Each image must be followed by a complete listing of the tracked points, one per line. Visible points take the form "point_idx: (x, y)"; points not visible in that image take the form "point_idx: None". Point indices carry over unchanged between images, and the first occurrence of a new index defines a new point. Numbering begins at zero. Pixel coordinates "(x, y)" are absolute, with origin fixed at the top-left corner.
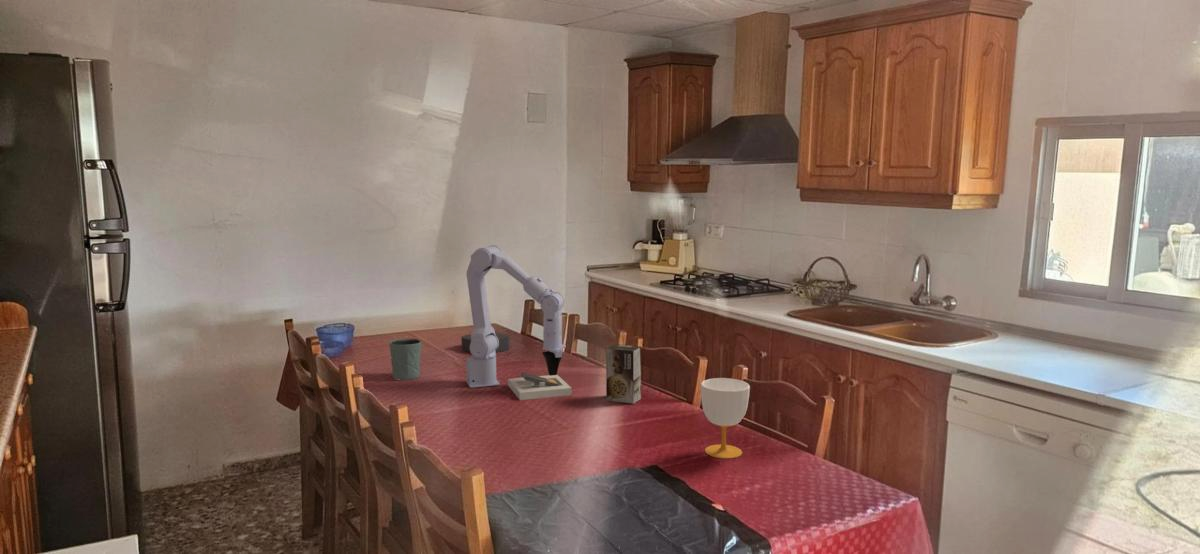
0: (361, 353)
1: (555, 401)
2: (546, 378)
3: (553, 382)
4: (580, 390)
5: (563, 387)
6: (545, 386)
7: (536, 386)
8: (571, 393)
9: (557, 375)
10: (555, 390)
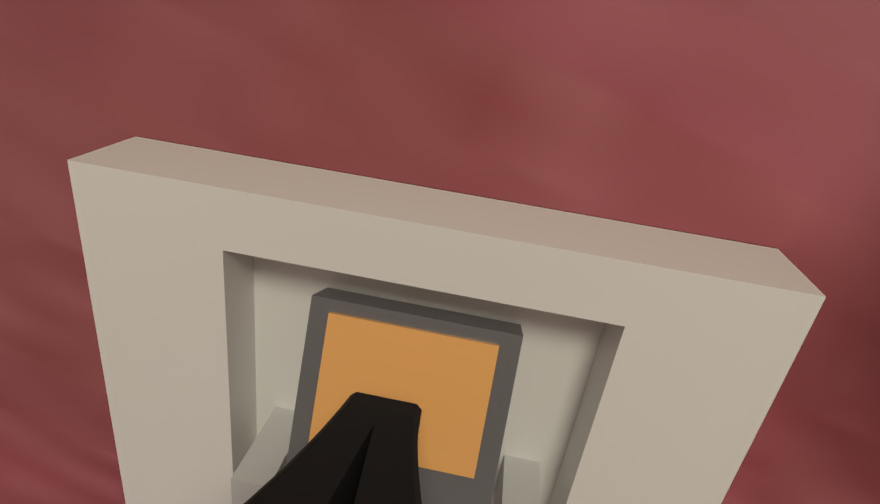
0: None
1: (847, 478)
2: None
3: (483, 404)
4: (651, 32)
5: (721, 372)
6: None
7: None
8: (786, 259)
9: (115, 177)
10: (729, 471)
